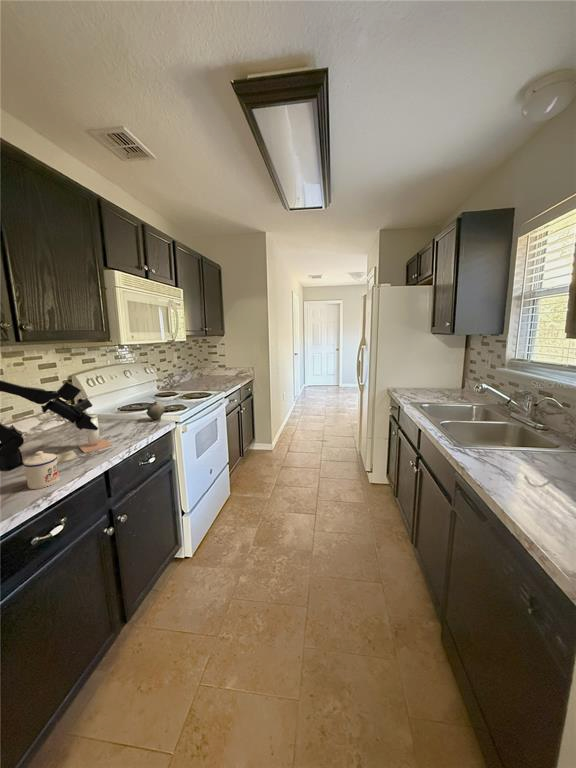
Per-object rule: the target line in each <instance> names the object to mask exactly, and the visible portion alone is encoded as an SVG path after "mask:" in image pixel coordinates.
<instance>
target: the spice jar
mask: <svg viewBox="0 0 576 768" xmlns="http://www.w3.org/2000/svg"><path fill="white" fill-rule="evenodd" d="M87 415H88V416H90V417H91V422H92V423H93V424H94V425H95V426H97V427H98V430H91V429H86V434H87V443H88V444H96V443H99V442H100V440H101V439H100V438H101V436H100V430H99V429H100V428H99V427H100V426H99V420H98V419H99V418H98V417H99V416H98V414H97V413H89V414H87Z"/></svg>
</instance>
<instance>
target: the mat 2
mask: <svg viewBox="0 0 576 768" xmlns="http://www.w3.org/2000/svg"><path fill="white" fill-rule="evenodd" d="M77 447H78V448H79V450H81V452H82V453H84V454H86V453H89V452H93V451H97V450H101V449H105V448H109V447H113V444H111V443H110V442H109V441H108V440H107V439H105V438H103V439H100V442H99V443H96V444H88V442H87V443H83V444H79V445H77Z"/></svg>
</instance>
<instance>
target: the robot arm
mask: <svg viewBox="0 0 576 768" xmlns="http://www.w3.org/2000/svg"><path fill="white" fill-rule="evenodd" d="M0 392H2V393H6V394H11V395H14V396H19V397H21V398H22V399H23V398H24V399H26V400H28V401H30V402H32V403H34V404H37V405H40V408H41V412H42V413H43V414H45V413H47V412H48V411H50V412H52V413H54V414H56V415H58V416H59V417H61V418H63V419H65V420H66V421H69V422H70V423H71V424H74V426H75V427H76V428H77V429H79V430H87V429H91V430H98V427H99V426H98V427H97V426H95V425H94V424H93V423H92V422H91V417H90V416H88V415H89V414H88V413H85V410H87V409H90V408H92V407H93V403H91V401H90V400H89V399H88V398H84V399H82V398H78V399H77V400H76V401H77V402H76V403H75V405H73V404H69V403H68V402H70V401H73V400H74V399H76V397H77V396H78V395H79V394H80V393H81V392H82V390H81V388H80V389H79V387H77V386H75V385H73V384H71V383H69V382H67V381H64V382H63V384H62V386H60V387H59V388H58V389H57V390H46V389H44V388H39V387H31V386H30V387H29V386H24V385H23V386H22V385H19V384H15V383H12V382H8V381H4V380H1V379H0ZM62 399H63V400H62ZM24 440H25V439H24V437H23V432H22V431H21V430H19V429H17V428H16V426H14V425H13V424H12V425H10V426H7V425H4V424H3V423H1V422H0V471H7V470H9V471H12V470H14V469H17V468H18V467H21V466H23V463H24V460H23V459H24V458H23V454H22V451H21V449H20V447H22V446H23V444H24V442H25V441H24ZM11 469H12V470H11Z"/></svg>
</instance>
